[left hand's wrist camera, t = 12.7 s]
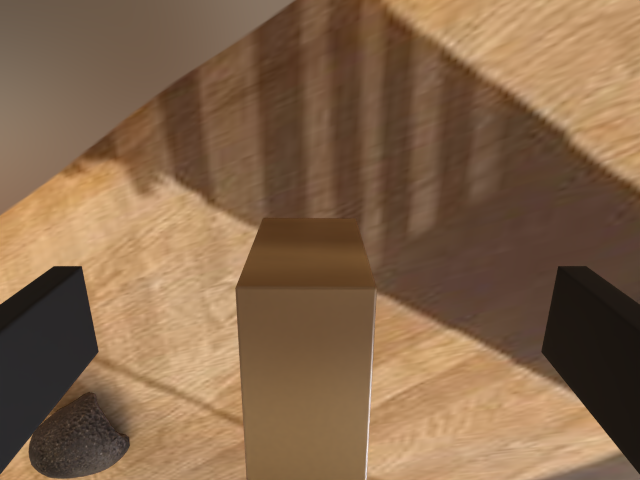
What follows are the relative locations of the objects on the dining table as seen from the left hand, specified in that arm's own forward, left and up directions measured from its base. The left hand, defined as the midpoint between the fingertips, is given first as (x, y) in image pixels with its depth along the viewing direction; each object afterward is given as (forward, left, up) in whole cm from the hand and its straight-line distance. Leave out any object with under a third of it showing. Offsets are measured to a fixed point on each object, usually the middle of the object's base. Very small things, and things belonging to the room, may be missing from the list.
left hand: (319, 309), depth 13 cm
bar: (+7, +10, -10) cm, 16 cm away
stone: (+39, +15, -32) cm, 53 cm away
